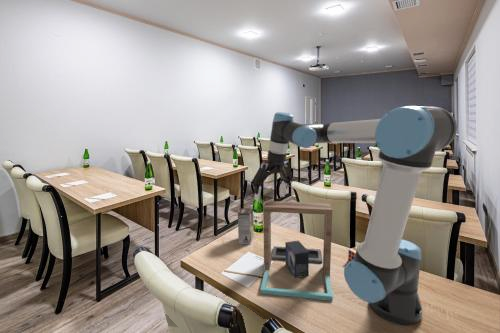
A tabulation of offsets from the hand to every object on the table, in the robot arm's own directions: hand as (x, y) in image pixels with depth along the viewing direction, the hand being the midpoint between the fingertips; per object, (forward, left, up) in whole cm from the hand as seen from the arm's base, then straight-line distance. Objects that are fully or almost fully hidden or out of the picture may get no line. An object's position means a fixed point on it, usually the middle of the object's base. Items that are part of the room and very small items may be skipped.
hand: (269, 197), depth 115 cm
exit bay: (-18, -12, -28) cm, 35 cm away
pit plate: (+4, -12, -28) cm, 31 cm away
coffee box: (+16, +14, -28) cm, 36 cm away
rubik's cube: (+2, -38, -29) cm, 47 cm away
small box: (-8, -12, -28) cm, 32 cm away
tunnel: (-8, -12, -28) cm, 32 cm away
